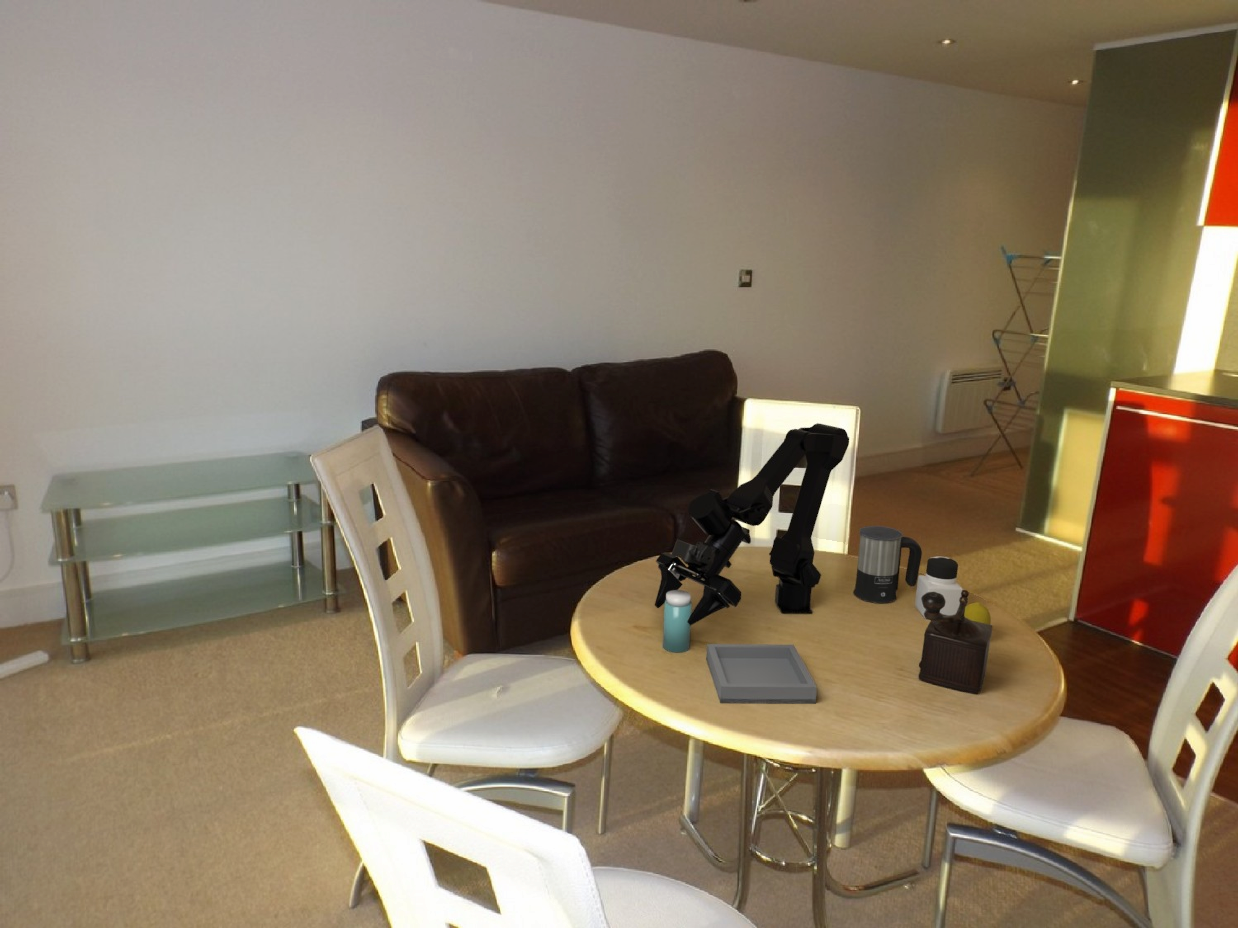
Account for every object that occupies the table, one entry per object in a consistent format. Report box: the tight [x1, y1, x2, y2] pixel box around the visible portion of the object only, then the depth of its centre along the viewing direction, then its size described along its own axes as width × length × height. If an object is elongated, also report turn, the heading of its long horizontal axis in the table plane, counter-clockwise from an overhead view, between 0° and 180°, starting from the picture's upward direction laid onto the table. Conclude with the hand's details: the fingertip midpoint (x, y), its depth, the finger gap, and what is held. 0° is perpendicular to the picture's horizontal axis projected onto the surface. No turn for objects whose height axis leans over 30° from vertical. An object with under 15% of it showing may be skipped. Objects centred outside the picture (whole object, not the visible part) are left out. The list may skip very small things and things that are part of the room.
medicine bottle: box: [914, 556, 964, 620], centre depth 185 cm, size 7×7×12 cm
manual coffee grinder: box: [918, 589, 994, 696], centre depth 155 cm, size 16×11×18 cm
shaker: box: [662, 589, 693, 654], centre depth 165 cm, size 5×5×10 cm
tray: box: [705, 643, 818, 705], centre depth 154 cm, size 16×16×3 cm
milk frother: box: [852, 525, 923, 604], centre depth 197 cm, size 14×16×15 cm
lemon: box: [964, 601, 992, 625], centre depth 173 cm, size 6×6×8 cm
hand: (672, 615), depth 164 cm, fingers open, 9 cm apart
